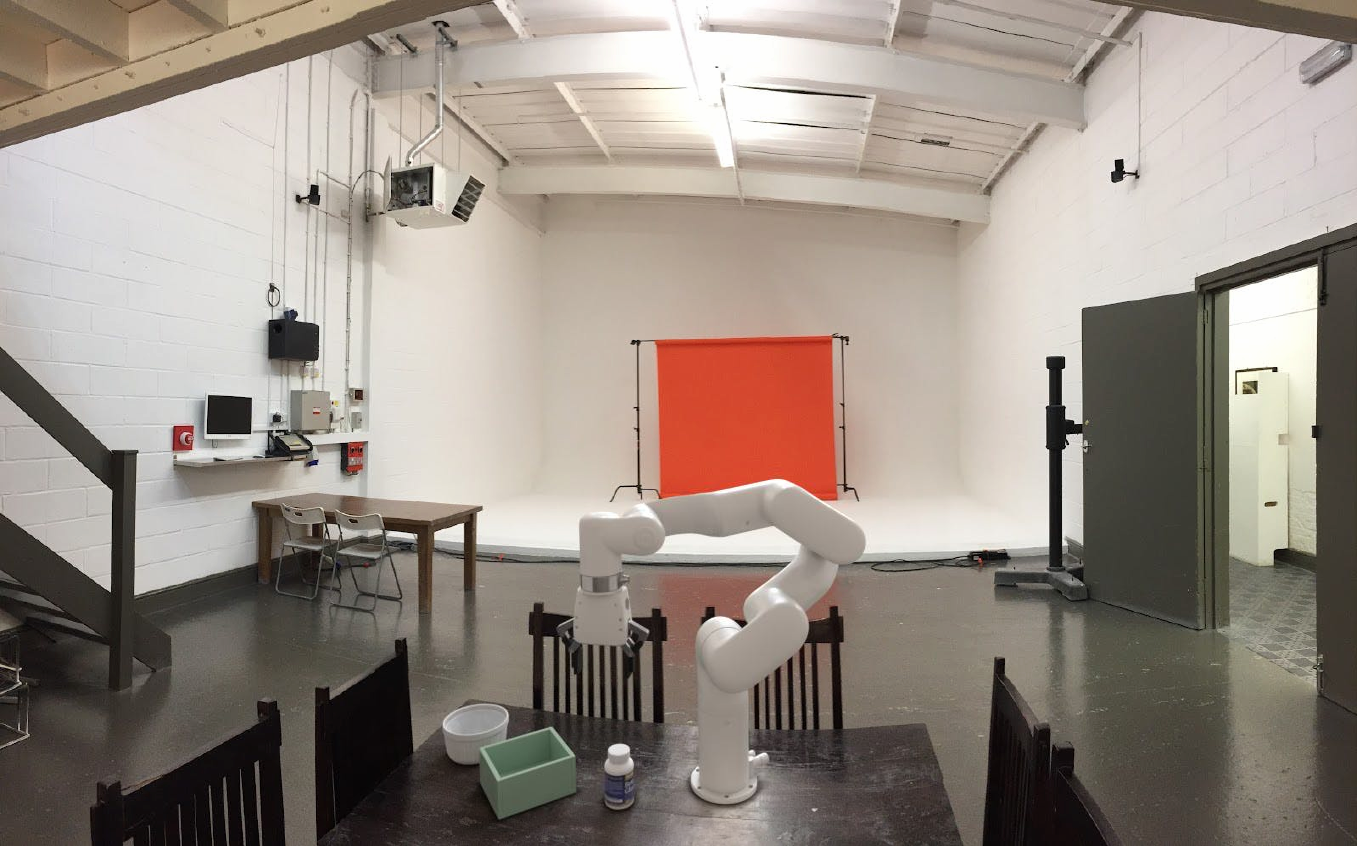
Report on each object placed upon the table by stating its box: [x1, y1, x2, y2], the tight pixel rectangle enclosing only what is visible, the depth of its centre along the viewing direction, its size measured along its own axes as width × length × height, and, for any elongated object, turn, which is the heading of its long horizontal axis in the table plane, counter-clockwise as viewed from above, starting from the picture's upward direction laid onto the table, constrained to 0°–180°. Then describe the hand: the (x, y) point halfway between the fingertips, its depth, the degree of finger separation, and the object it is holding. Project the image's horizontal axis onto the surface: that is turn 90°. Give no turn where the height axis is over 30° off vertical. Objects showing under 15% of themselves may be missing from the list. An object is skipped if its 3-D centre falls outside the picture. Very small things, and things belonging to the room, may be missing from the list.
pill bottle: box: [603, 743, 635, 810], centre depth 119 cm, size 5×5×10 cm
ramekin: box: [441, 703, 510, 766], centre depth 136 cm, size 13×13×7 cm
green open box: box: [479, 726, 577, 820], centre depth 123 cm, size 15×13×7 cm
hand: (603, 673), depth 119 cm, fingers open, 9 cm apart
